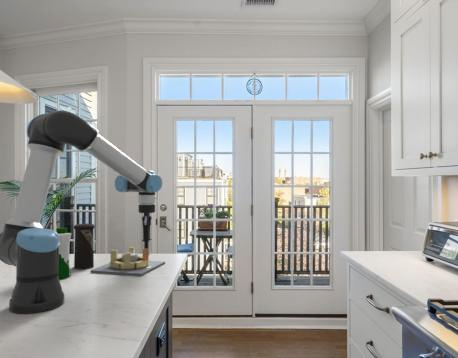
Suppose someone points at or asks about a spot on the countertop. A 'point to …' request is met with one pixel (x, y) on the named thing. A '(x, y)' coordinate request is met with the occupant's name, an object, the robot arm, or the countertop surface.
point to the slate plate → (133, 272)
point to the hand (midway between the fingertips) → (146, 254)
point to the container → (84, 246)
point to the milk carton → (63, 252)
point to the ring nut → (129, 260)
